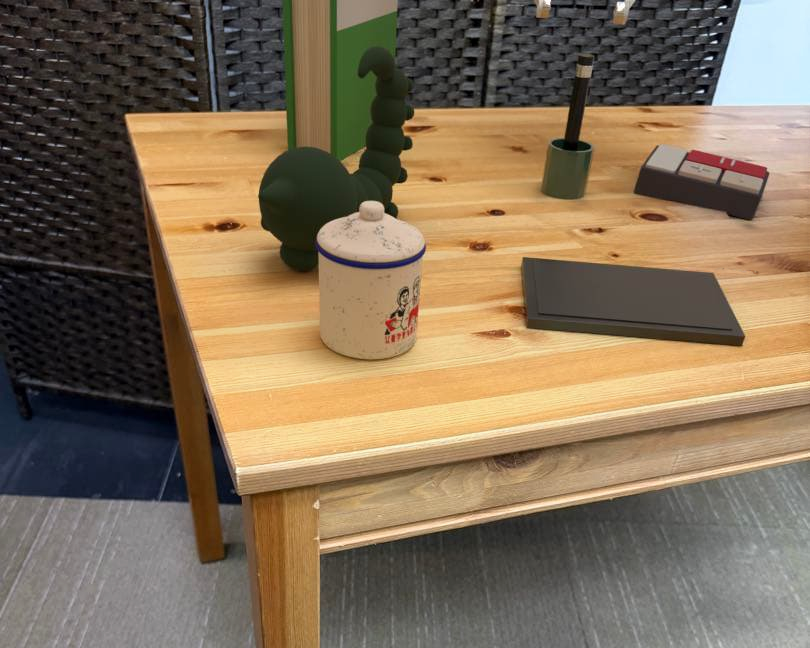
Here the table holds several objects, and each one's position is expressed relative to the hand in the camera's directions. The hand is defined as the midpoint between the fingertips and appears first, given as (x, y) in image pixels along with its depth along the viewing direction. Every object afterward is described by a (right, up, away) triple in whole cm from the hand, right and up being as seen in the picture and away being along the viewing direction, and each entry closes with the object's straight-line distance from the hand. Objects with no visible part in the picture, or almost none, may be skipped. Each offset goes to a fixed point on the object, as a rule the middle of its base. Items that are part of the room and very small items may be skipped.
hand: (581, 18), depth 99 cm
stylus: (-2, -19, +4) cm, 20 cm away
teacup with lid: (-24, -45, -25) cm, 57 cm away
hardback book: (-30, -7, +16) cm, 35 cm away
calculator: (+17, -19, +7) cm, 26 cm away
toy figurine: (-29, -33, -12) cm, 45 cm away
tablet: (0, -40, -18) cm, 44 cm away
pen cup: (-2, -20, +4) cm, 20 cm away
